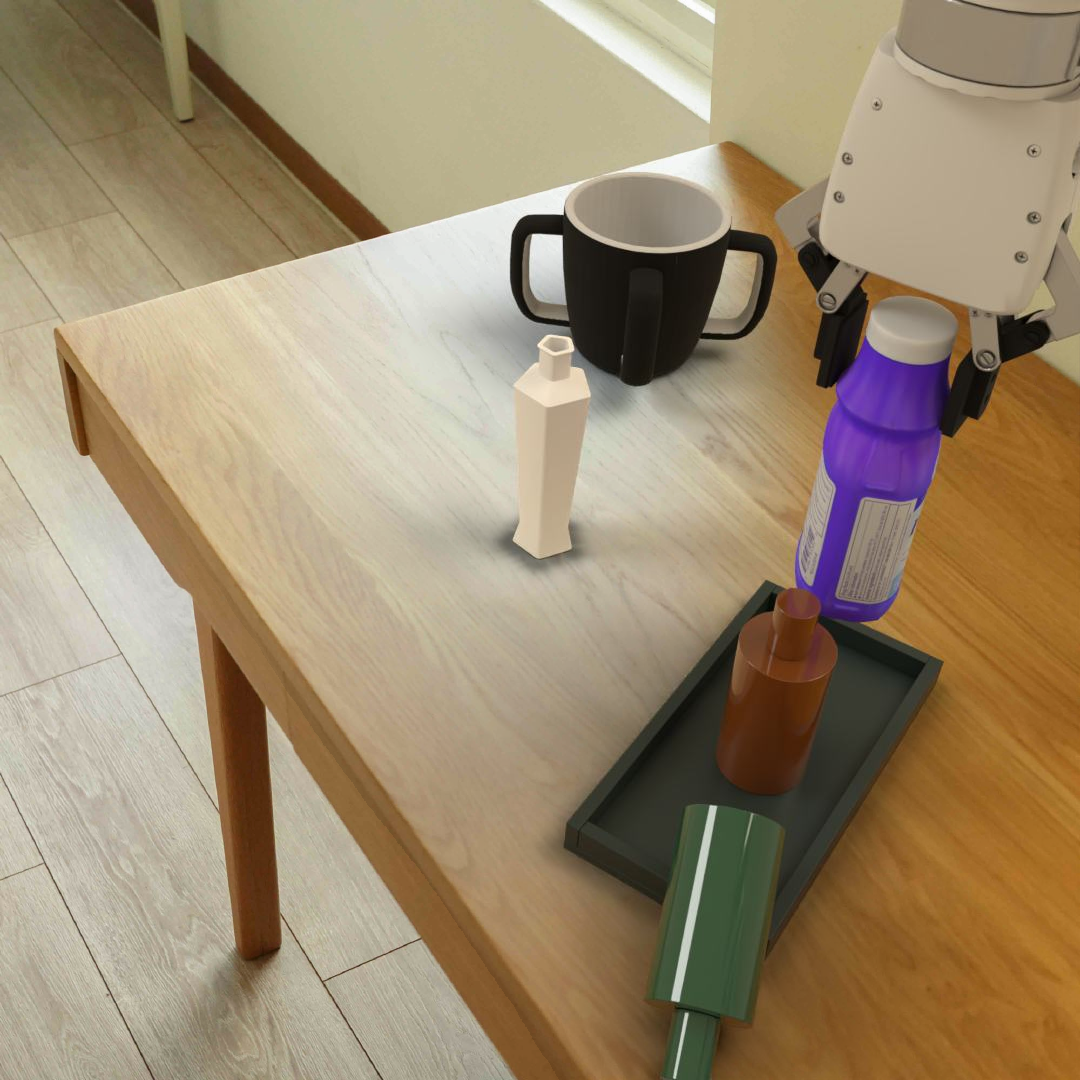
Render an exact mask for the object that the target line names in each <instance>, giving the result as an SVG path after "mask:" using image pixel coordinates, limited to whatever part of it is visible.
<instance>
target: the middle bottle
mask: <svg viewBox="0 0 1080 1080" xmlns="http://www.w3.org/2000/svg"><path fill="white" fill-rule="evenodd" d="M820 610H821V603H820V601H819V599H818V598H817V597H816V596H815V595H814V594H813V593H811V592H809V591H807V590H804V589H801V588H797V587H789V588H786V589H785V590H783V591H782V592H780V593H779V594H778V596H777V598H776V603H775V607H774V611H772V612H766V613H763V614H760V615H757V616H755V617H753V618H752V619H750V620H749V621H748V622H747V623H746V624H745V625H744V626H743V628H742V629H741V632H740V635H739V640H738V644H737V649H736V654H735V659H734V664H733V668H732V673H731V678H730V683H729V687H728V692H727V697H726V702H725V706H724V711H723V716H722V721H721V725H720V730H719V735H718V740H717V744H716V749H715V758H716V762H717V765H718V767H719V769H720V771H721V773H722V774H723V775H724V776H725V778H726V779H727V780H729V781H730V782H731V783H732V784H734V785H735V786H737V787H738V788H740V789H742V790H744V791H747V792H750V793H753V794H758V795H777V794H781V793H785V792H787V791H789V790H791V789H793V788H794V787H795V786H796V785H798V784H799V783H800V781H801V780H802V778H803V776H804V774H805V771H806V767H807V764H808V760H809V757H810V753H811V750H812V746H813V743H814V739H815V736H816V732H817V729H818V725H819V721H820V718H821V714H822V711H823V707H824V704H825V700H826V697H827V693H828V690H829V686H830V683H831V679H832V676H833V672H834V669H835V665H836V661H837V657H838V650H837V646H836V643H835V641H834V639H833V637H832V636H831V634H830V633H829V632H828V631H827V630H826V629H825V628H824V627H823V626H822V625H821V624H819V623H818V618H819V614H820Z"/></svg>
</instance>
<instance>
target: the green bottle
mask: <svg viewBox="0 0 1080 1080" xmlns="http://www.w3.org/2000/svg"><path fill="white" fill-rule="evenodd" d="M785 838H786V830H785V829H784V827H782V826H781V825H780V824H778V823H777V822H775V821H773V820H771V819H769V818H766V817H764V816H761V815H758V814H755V813H752V812H749V811H745V810H741V809H737V808H732V807H726V806H720V805H710V804H695V805H689V806H686V807H684V808H683V810H682V814H681V819H680V824H679V829H678V834H677V839H676V844H675V848H674V853H673V858H672V863H671V868H670V873H669V878H668V882H667V887H666V892H665V897H664V902H663V905H662V908H661V912H660V917H659V922H658V925H657V931H656V937H655V941H654V946H653V951H652V955H651V960H650V966H649V970H648V974H647V981H646V986H645V989H644V994H643V1002H644V1003H645V1004H647V1005H648V1006H650V1007H653V1008H655V1009H657V1010H660V1011H663V1012H666V1013H669V1014H671V1018H670V1019H671V1020H670V1024H669V1029H668V1035H667V1039H666V1046H665V1050H664V1055H663V1059H662V1060H663V1061H662V1066H661V1071H660V1075H659V1077H660V1079H661V1080H712V1077H713V1071H714V1065H715V1060H716V1055H717V1054H716V1053H717V1050H718V1049H717V1048H718V1043H719V1038H720V1032H721V1027H724V1028H725V1027H726V1028H733V1029H741V1030H750V1029H753V1028H754V1024H755V1018H756V1012H757V1006H758V1001H759V995H760V988H761V982H762V976H763V971H764V965H765V962H764V960H765V954H766V948H767V942H768V937H769V931H770V925H771V919H772V913H773V908H774V902H775V896H776V890H777V884H778V879H779V873H780V867H781V861H782V855H783V850H784V844H785ZM765 961H766V960H765Z"/></svg>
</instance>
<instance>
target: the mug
mask: <svg viewBox="0 0 1080 1080" xmlns="http://www.w3.org/2000/svg"><path fill="white" fill-rule="evenodd" d="M732 222H733V216H732V213H731V210H730V208H729V206H728V204H727V203H726V202H725V201H724V200H723V199H722V198H721V197H720V196H719V195H718V194H717V193H715V192H713V191H712V190H710V189H709V188H707V187H705V186H703V185H701V184H699V183H696V182H694V181H692V180H688V179H685V178H682V177H679V176H675V175H669V174H666V173H658V172H650V171H624V172H615V173H610V174H609V173H608V174H604V175H600V176H596V177H593V178H591V179H588V180H586V181H584V182H582V183H581V184H579V185H577V186H576V187H575V188H573V189H572V190H571V191H570V192H569V194H568V195H567V196H566V199H565V201H564V205H563V214H556V213H554V214H553V213H552V214H551V213H548V214H547V213H544V214H543V213H542V214H541V213H540V214H539V213H537V214H526V215H524V216H522V217H521V218H519V220H517V222H516V224H515V226H514V227H513V229H512V232H511V237H510V251H509V252H510V253H509V284H510V288H511V294H512V296H513V299H514V301H515V303H516V305H517V307H518V309H519V311H520V313H521V314H522V315H523V316H524V317H525V318H527V319H528V320H530V321H532V322H534V323H537V324H543V325H548V326H557V327H564V328H570V329H569V330H570V333H571V336H572V340H573V342H574V344H575V348H576V350H577V351H578V352H579V353H580V355H581V356H582V357H583V358H584V359H585V360H586V361H587V362H589V363H590V364H592V365H593V366H595V367H596V368H599V369H602V370H603V371H606V372H609V373H612V374H616V375H619V380H620V381H621V382H622V383H623V384H625V385H627V386H631V387H645V386H647V385H649V384H650V383H651V382H652V380H653V377H654V376H659V375H664V374H667V373H669V372H672V371H674V370H676V369H678V368H679V367H681V366H683V364H685V362H687V361H688V359H689V358H690V357H691V356H692V354H693V352H694V350H695V348H696V347H697V345H698V343H699V341H700V340H709V341H710V340H713V341H736V340H740V339H743V338H745V337H747V336H748V335H750V334H751V333H753V331H754V330H755V329H756V327H757V326H758V325H759V323H760V322H761V321H762V319H763V318H764V317H765V314H766V312H767V309H768V307H769V304H770V301H771V296H772V292H773V291H772V290H773V287H774V283H775V278H776V272H777V266H778V265H777V264H778V252H777V248H776V246H775V243H774V242H773V240H772V238H771V237H769V236H767V235H766V234H762V233H757V232H753V231H746V230H739V229H732ZM533 235H546V236H561V237H562V238H561V239H562V272H563V284H564V295H565V304H558V303H550V302H545V301H540V300H538V299H537V297H536V296H535V295H534V292H533V291H532V288H531V282H530V255H531V244H532V239H533V238H532V237H533ZM728 251H733V252H745V253H752V254H756V262H755V263H756V264H755V269H754V270H755V271H754V277H753V282H752V287H751V291H750V295H749V298H748V301H747V304H746V305H745V307H744V309H743V310H742V311H741V313H740V314H738V315H737V316H736V317H734V318H720V317H719V318H718V317H717V318H716V317H709V315H710V314H711V313H710V312H711V310H712V307H713V304H714V301H715V298H716V294H717V292H718V289H719V287H720V282H721V279H722V275H723V270H724V266H725V263H726V258H727V254H728Z"/></svg>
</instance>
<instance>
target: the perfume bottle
mask: <svg viewBox="0 0 1080 1080" xmlns="http://www.w3.org/2000/svg"><path fill="white" fill-rule="evenodd" d="M573 342H574V341H573V338H571V337H569V336H565V335H564V336H563V335H556V334H547V335H544V337H543V338H542V339H541V340H540V341H539V342H538V343H537V345H536V346H537V348H538V349H539V356H538V362H534V363H532V364H531V366H529V368H528V369H527V370H526V371H525V372H524V373H523V374H522V375H521V376H520V377H519V379H517V381H515V382H514V384H513V397H514V398H513V399H514V414H515V415H514V420H515V421H514V422H515V443H516V446H515V447H516V466H517V488H518V489H517V491H518V511H519V522H518V525H517V527H516V530H515V533H514V535H513V538H512V541H513V542H514V543H515V544H516V545H517V546H519V547H520V548H521V549H523V550H525V552H527V553H529V554H530V555H531V556H533V557H534V558H536V559H538V560H539V559H544V558H548V557H551V556H552V557H553V556H554V555H558V554H561V553H564V552H568V551H571V550H572V549H573V545H572V541H571V535H570V531H569V523H570V519H571V512H572V507H573V506H572V505H573V501H574V500H573V499H574V494H575V489H576V483H577V477H578V472H579V471H578V470H579V465H580V462H581V461H580V460H581V455H582V448H583V442H584V437H585V431H586V426H587V419H588V415H589V409H590V404H591V403H590V402H591V396H592V392H591V390H590V387H589V383H588V380H587V377H586V374H585V371H584V369H583V368H582V367H577V366H576V367H575V366H572V355H573V353H574V351H575V346H574V343H573Z"/></svg>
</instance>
